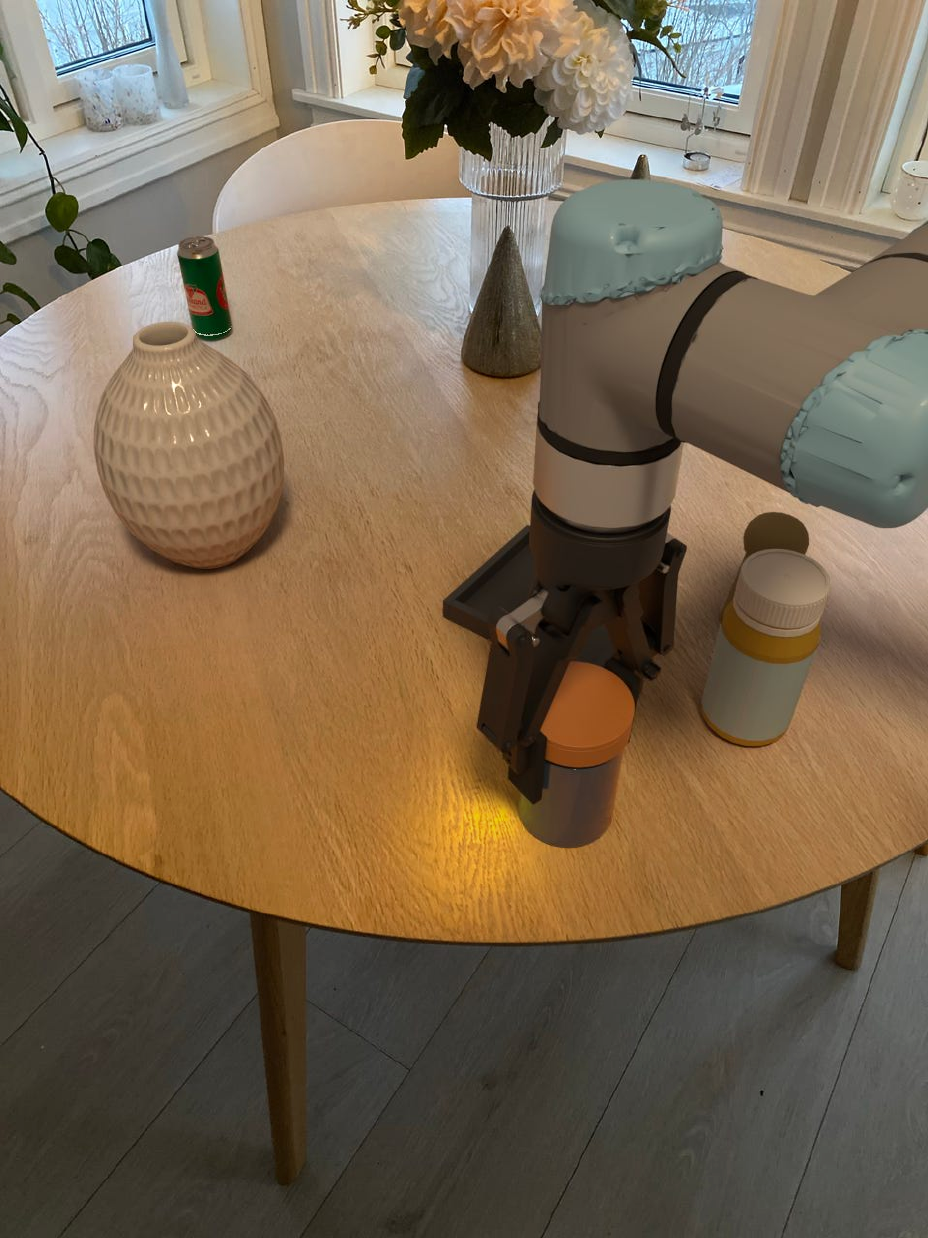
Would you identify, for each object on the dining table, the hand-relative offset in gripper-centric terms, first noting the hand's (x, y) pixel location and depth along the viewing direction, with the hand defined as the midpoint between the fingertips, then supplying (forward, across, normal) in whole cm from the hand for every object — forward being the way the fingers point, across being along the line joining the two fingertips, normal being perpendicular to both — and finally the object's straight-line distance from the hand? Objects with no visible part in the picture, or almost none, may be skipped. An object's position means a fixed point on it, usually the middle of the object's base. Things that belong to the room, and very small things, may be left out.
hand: (569, 759), depth 67 cm
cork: (+6, -27, -5) cm, 28 cm away
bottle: (+6, -17, +2) cm, 18 cm away
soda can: (+6, -13, -84) cm, 86 cm away
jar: (+6, 0, 0) cm, 6 cm away
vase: (+6, +7, -44) cm, 45 cm away
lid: (-6, 0, 0) cm, 6 cm away
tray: (+6, -14, -17) cm, 22 cm away
